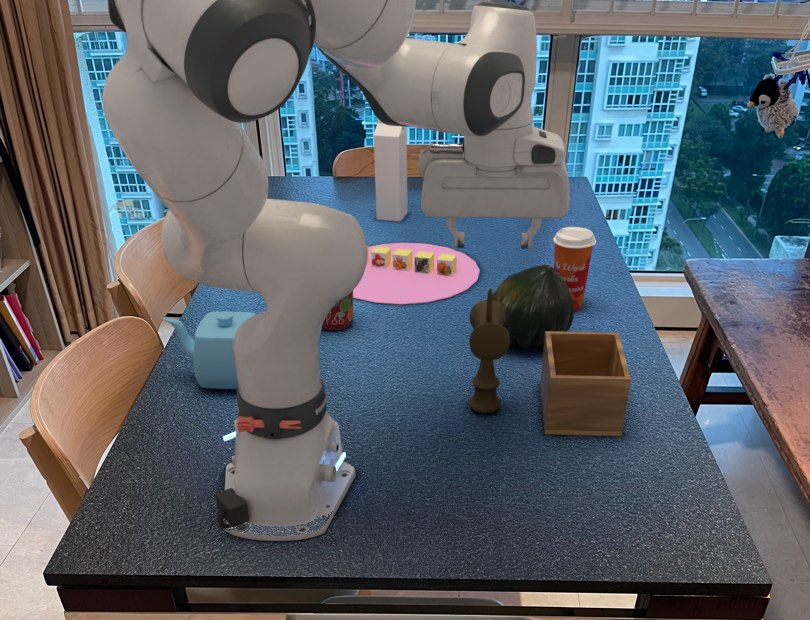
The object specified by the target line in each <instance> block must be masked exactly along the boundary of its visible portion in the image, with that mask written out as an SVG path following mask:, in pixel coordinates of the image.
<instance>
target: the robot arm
mask: <svg viewBox="0 0 810 620" xmlns="http://www.w3.org/2000/svg"><path fill="white" fill-rule="evenodd" d="M416 5H417V0H107V11H108V16H109V19H110V21H111V23H112V25H114V26H115V27H116V28H118V29H119V30H120V31H122V32H124V33H126V35H127V40H128V42H127V43H128V44H127V49H126V51H125V53H124V55H123V56H122V57H121V58H120V59H119V60H118V61H117V62H116V63H115V64H114V65H113V67H112V68H111V69H110V71H109V73H108V75H107V77H106V79H105V82H104V85H103V88H102V89H103V90H102V100H101V101H102V110H103V114H104V117H105V120H106V122H107V124H108V127H109V129H110V130H111V131H110V132H112V135H113V136H114V138H115V140H116V142H117V144H118V146H119V147H120V148H121V151H122V152H123V154H124V155H125V157H126V159H128V161H129V163H130V164H131V166H132V167H133V168H134V170H135V171H136V172H137V174H138V175H139V176H140V178H141V180H143V181H144V182H145V184H146V185H147V186H148V187H149V189H150V190H151V191H152V192H153V193H154V194H155V195H156V196H157V197H158V199H159V200H160V201H161V202H162V203H163V204H164V206H165V207H166V208H167V212H166V214H165V216H164V219H163V222H162V226H161V233H160V236H161V237H160V238H161V247H162V251H163V255H164V257H165V259H166V261H167V263H168V265H169V266H170V268H171V269H172V271H173V272H174V273H175V274H176V275H178V276H179V277H182V278H185V279H188V280H190V281H192V282H195V283H198V284H201V285H204V286H207V287H210V288H214V289H222V290H228V291H229V290H230V291H237V292H245V293H252V294H259V295H262V296H263V298H264V301H265V305H266V306H265V310H263V311H261V312H258V313H255V314H256V315H254V316H252V317H251V318H249V319H247V320H246V321H245V322H244V323H242V325H241V326H240V327H239V328H238V330H237V332H236V334H235V337H234V340H233V353H234V360H235V366H236V373H237V379H238V386H239V387H238V389H236V401H235V402H236V403H235V404H236V411H237V418H236V419H235V420H233V424H234V430H235V431H233V432H230V433H229V434H226V435H223V436H222V438H223V441H224V442H226V441H229V440H231V439H233V438H234V439H235V441H234V455H232V456H231V458H230V462H229V463H228V464H227V465H226V466H225V477H224V490H222V491H220V492H217V493H215V494H214V496H215V502H216V507H217V512H218V513H219V514H218V516H217V523H218V525H219V527H220V528H221V529H223V531H224V532H226V533H228V534H229V535H232V536H235V537H239V538H242V539H248V540H256V541H267V542H268V541H269V542H289V541H290V542H291V541H292V542H293V541H299V540H300V541H301V540H307V539H311V538H315V537H318V536H321V535H323V534H325V532H326V531H327V530H328V528H329V526H330V524H331V522H332V520H333V519H334V517H335V516H336V515H335V514H336V513H337V511H338V509H339V508H340V505H341V504H342V502H343V500H344V498H345V497H346V494H347V493H348V491H349V489H350V487H351V485H352V483H353V482H354V481H355V480H354V479H355V478H356V475H357V474H356V469H355V467H354V466H353V465H351V464H350V463H348V462H346V461H344V460H345V458H346V457H347V454H346V451H344V452H343V447H342V439H341V432H340V424H339V423H338V422H337V421H336V419H334V418H333V417H332V416H331V415H330V414H329V412H328V411H327V409H328V406H327V400H328V399H327V398H328V397H327V391H326V387H325V383H324V380H323V379H322V376H321V375H322V374H321V360H320V359H321V355H320V354H321V352H320V351H321V350H320V349H321V344H320V343H321V342H320V341H321V332H322V329H323V328H322V325H323V322H324V320H325V318H326V316H327V314H328V313H329V311H330V310H331V309H332V307H333V306H334V305H335V304H336V303H337V302H338V301H340V300H341V299H343V298H344V297H346V296H347V295H349V294H350V293H351V292H352V291H353V290H354V289H355V288H356V286H357V285H358V284H359V282H360V281H361V279H362V277H363V274H364V272H365V269H366V265H367V257H368V251H367V245H368V243H367V239H366V235H365V233H364V231H363V228H362V227H361V224H360V223H359V222H358V221H357V219H356V218H355V216H354V215H352V214H350V213H348V212H344V211H342V210H339V209H336V208H333V207H329V206H327V205H323V204H321V203H317V202H307V201H295V200H287V199H274V198H268V196H269V188H270V187H269V185H270V183H269V175H268V169H267V166H266V164H265V162H264V160H263V157H262V156H261V155H260V153H259V151H258V150H257V149H256V147H255V146H254V144H253V142H252V141H251V139H250V138H249V136H248V134H247V133H246V131H245V129H244V128H243V127H242V125H241V124H246V123H252V122H256V121H258V120H261V119H262V118H265V117H268V116H270V115H272V114H274V113H275V112H276V111H278V110H279V109H280V108H281V107H283V106H284V105H285V104H286V103H287V102H288V101H289V99H290V98H291V97H292V95H293V94H294V93H295V91H296V89H297V87H298V85H299V83H300V81H301V79H302V78H303V75H304V73H305V71H306V69H307V65H308V63H309V58H310V55H311V54H312V50H313V46H315V47H316V48H317V50H318V51H319V52H320V54H322V55H323V56H324V57H325V58H326V59H327V60H328V61H329V62H330V63H331V64H332V65H333V66H334V67H335V68H337V69H338V70H339V71H340V72H341V73H342V74H343V75H345V76H346V77H347V78H348V79H349V80H350V81H351V82H352V83H354V85H356V86H357V88H358V89H359V90H360V92H361V93H362V95H363V96H364V98H365V100H366V102H367V103H368V105H369V107H370V109H371V111H372V113H373V114H374V116H375V117H376V119H377V118H378V119H379V120H380V121H381V122H382V123H384V124H386V125H390V126H402V127H405V128H417V129H422V130H428V131H435V132H439V133H446V134H452V135H459V136H463V143H446V144H440V143H430V144H429V146H427V147H425V148H423V149H422V150H421V151H420V153H419V156H418V172H419V175H420V176H421V178H423V182H422V189H421V201H420V211H421V212H422V213H423V214H424V216H425V217H426V218H446V227H447V229H448V230H449V232H450V233H451V236H452V237H453V248H454V249H465V237H466V236H465V234H466V233H465V231H459V229H458V227H457V220H458V218H474V219H475V218H477V219H478V218H482V219H483V218H484V219H485V218H486V219H490V218H491V219H493V218H494V219H495V218H496V219H498V218H499V219H530V224H531V225H530V227H529V229H528V230H527V231H526V232H521V233H520V234H521V235H520V239H521V240H520V249H521V250H523V249H524V250H525V249H526V250H531V249H532V247H533V238H534V237H535V236H536V234H537V233H538V231H539V230H540V228H541V227H542V222H543V219H563V218H565V216H566V215H567V214H568V212H570V211H569V210H570V201H571V199H570V197H571V196H570V191H571V190H570V179H569V174H568V173H569V172H568V167H567V165H566V161H565V160H564V159H565V152H566V148H565V143H564V140H563V139H562V137H561V136H560V135H559V134H557V133H554V132H552V131H548V130H545V129H542V128H539V127H537V126H533V123H534V122H533V120H534V115H533V110H532V97H533V96H532V95H533V92H534V89H535V86H536V80H537V62H538V59H537V58H538V43H537V42H538V39H537V38H538V37H537V26H536V19H535V13H534V12H533V11H532V10H531V9H530V8H529V7H527V6H525V5H522V4H516V3H505V2H494V1H493V2H492V1H482V2H479V3H477V4H475V5H474V6H473V8H472V11H471V17H470V22H469V29H468V33H466V35H465V36H464V37H463V38H462V39H460V40H459V41H458V43H455V42H454V43H453V42H445V41H437V40H430V39H422V38H421V39H419V38H415V37H411V36H408V35H409V34H410V31H411V29H412V26H413V22H414V18H415V13H416ZM332 511H333V512H332ZM331 512H332V514H331ZM328 514H329V515H330V514H331V515H330V517H329V519H328V521H327V523H326V524H325V526H324V527H323V528H322V529H320V530H317V531H314V532H310V533H306V534H300V535H289V536H267V535H254V534H247V533H242V532H238V531H244V530H247V529H248V528H249V525H248V524H244V523H245V522H247V523H252V524H255V525H261V526H267V527H268V526H270V527H272V526H295V525H301V524H306V523H308V522H311V521H315V520H314V519H318V518H317V516H318V517H320V518H322V517H325V516H326V517H328ZM322 515H324V516H322ZM224 518H225V520H226V521H227V522H228V523H229V524H230V525H229V524H226V523H225V522H224V521H223V519H224ZM231 526H232V527H236V526H237V527H236V529H237V530H238V531H235V530H232V529H229V530H226V528H229V527H231ZM308 530H309V528H308V527H307V526H304V525H302V526H298V527H297V528H296V531H297V532H299V533H305V532H307V531H308Z"/></svg>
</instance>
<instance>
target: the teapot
mask: <svg viewBox="0 0 810 620" xmlns="http://www.w3.org/2000/svg"><path fill="white" fill-rule="evenodd" d="M256 314H257V313H254V312H252V311H251V312H250V311H209V312H208V313H207V314H206V315H205V316H203V318H202V319H201V321H199V324H198V325H197V328H196V331H195V333H194V338H193V337H192V336H191V335H190V334H189V332H188V330H187V328H186V326H185V325H184V323H183V322H182V321H181V320H179V319H177V318H175V317H171V316H170V317H169V316H165V317H163V318H162V319H163V320H164V321H165V322H166V323H168V324H169V325H171V326H172V327H173V328H174V330H175V331H176V334H177V336H178V339H179V342H180V346H181V348H182V350H183V352H184V354H185V355H186V356H187V357H188V358H189V359H191V360H192V361H193V371H194V376H195V379H196V382H197V383H198V384H199V386H200V387H201V388H204V389H217V390H237V389H238V387H239V386H238V379H237V373H236V366H235V360H234V353H233V340H234V337H235V334H236V332H237V330H238V328H239V327H240V326H241V325H242V323H244V322H245V321H246V320H247V319H249V318H251V317H252V316H254V315H256Z"/></svg>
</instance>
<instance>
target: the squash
mask: <svg viewBox="0 0 810 620" xmlns="http://www.w3.org/2000/svg"><path fill="white" fill-rule="evenodd" d="M493 301H496V302H498V303H500V304H501V305H502V306H503V308H504V310H505V321H504V324H503V327H505V328H506V330H507V331H508V333H509V337H510V344H509V347H511V346H516V345H518V346H519V347H520V348H525V349H526V348H528V347H530V346H531V347H532V348H539V347H542V348H544V339H545V331H560V332H569V330H570V328H571V326H572V324H573V321H574V318H575V316H574V315H575V311H574V304H573V300H572V298H571V296H570V292H569V288H568V286H567V285H566V283H565V282H564V280H563V279H562V278H561V277H560V276H559V274H558V273H557V271H556V270H555V269H554V266H551V265H549V264H540V265H536V266H532V267H529V268H526V269H524V270H521V271H518V272H516V273H512V274H510V275H508V276H507V277H506V278H504V279H503V280H502V282H501V283H500V284H499V285H498V287H497V288H496V289H495V290H494V292H493Z"/></svg>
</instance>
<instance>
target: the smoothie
mask: <svg viewBox="0 0 810 620" xmlns="http://www.w3.org/2000/svg"><path fill="white" fill-rule="evenodd" d="M353 318H354V298H353V291H352V292H351V293H350V294H349V295H347V296H346V297H344V298H343V299H341V300H340V301H338V302H337V303H336V304H335V305H334V306H333V307H332V309H331V310H330V311H329V313H328V314H327V316H326V318H325V320H324V322H323V325H322V328H321V329H324V330H327V331H340V330H344V329H346V328H348V327H350V325H351V321H352V320H353Z"/></svg>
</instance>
